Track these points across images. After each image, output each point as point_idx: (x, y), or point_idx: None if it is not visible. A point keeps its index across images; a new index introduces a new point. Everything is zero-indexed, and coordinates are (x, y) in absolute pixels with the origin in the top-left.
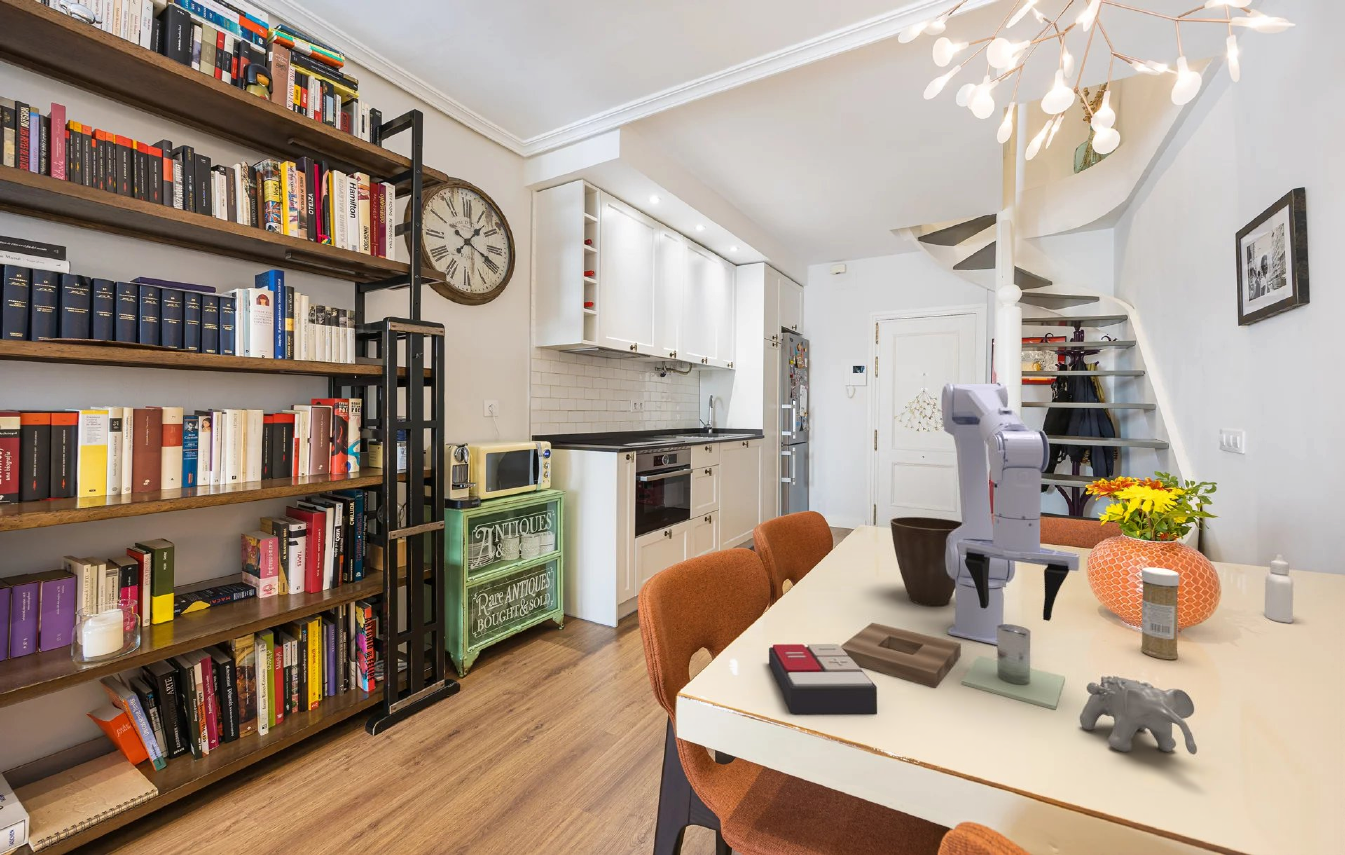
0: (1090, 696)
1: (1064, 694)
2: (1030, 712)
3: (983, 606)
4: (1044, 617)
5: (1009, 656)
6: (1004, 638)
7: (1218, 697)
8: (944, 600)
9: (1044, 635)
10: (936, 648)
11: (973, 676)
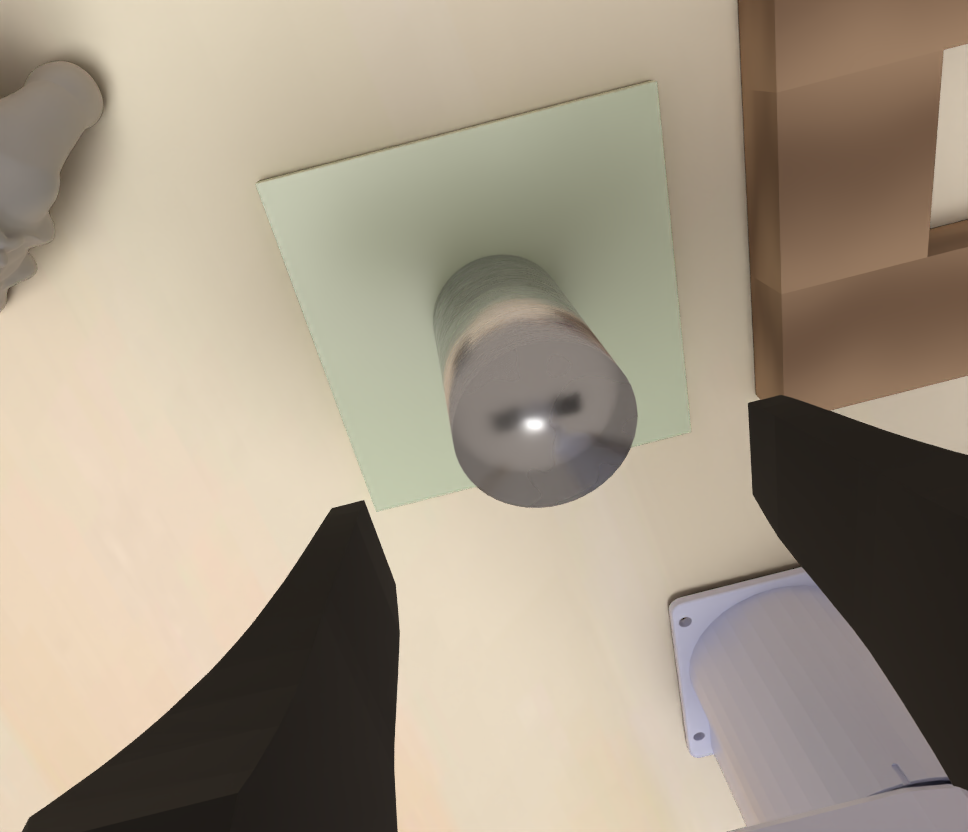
0: (30, 160)
1: (316, 375)
2: (310, 50)
3: (770, 402)
4: (353, 510)
5: (511, 293)
6: (558, 325)
7: (28, 751)
8: None
9: (585, 792)
10: (861, 260)
11: (633, 187)
